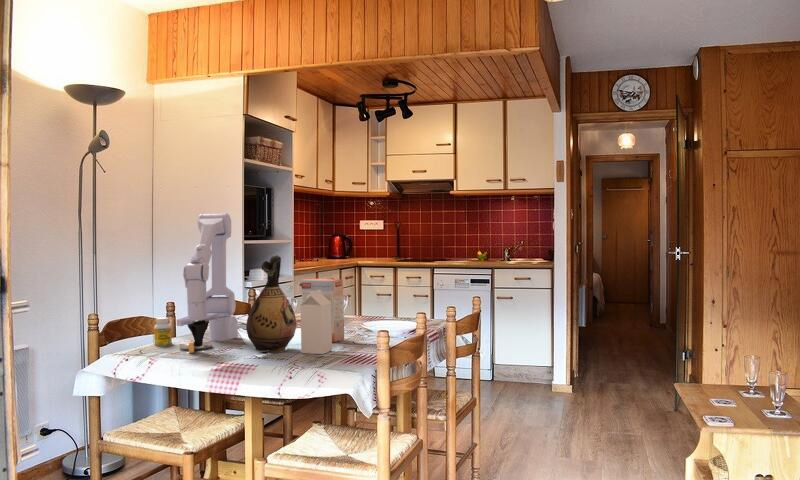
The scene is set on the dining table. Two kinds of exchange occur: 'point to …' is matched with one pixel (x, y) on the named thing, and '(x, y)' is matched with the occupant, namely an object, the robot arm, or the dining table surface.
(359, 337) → the dining table surface
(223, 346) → the board
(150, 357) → the dining table surface
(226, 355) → the dining table surface
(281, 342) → the ceramic jug
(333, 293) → the cracker box
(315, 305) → the milk carton
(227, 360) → the dining table surface
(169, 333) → the supplement bottle
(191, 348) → the dial
